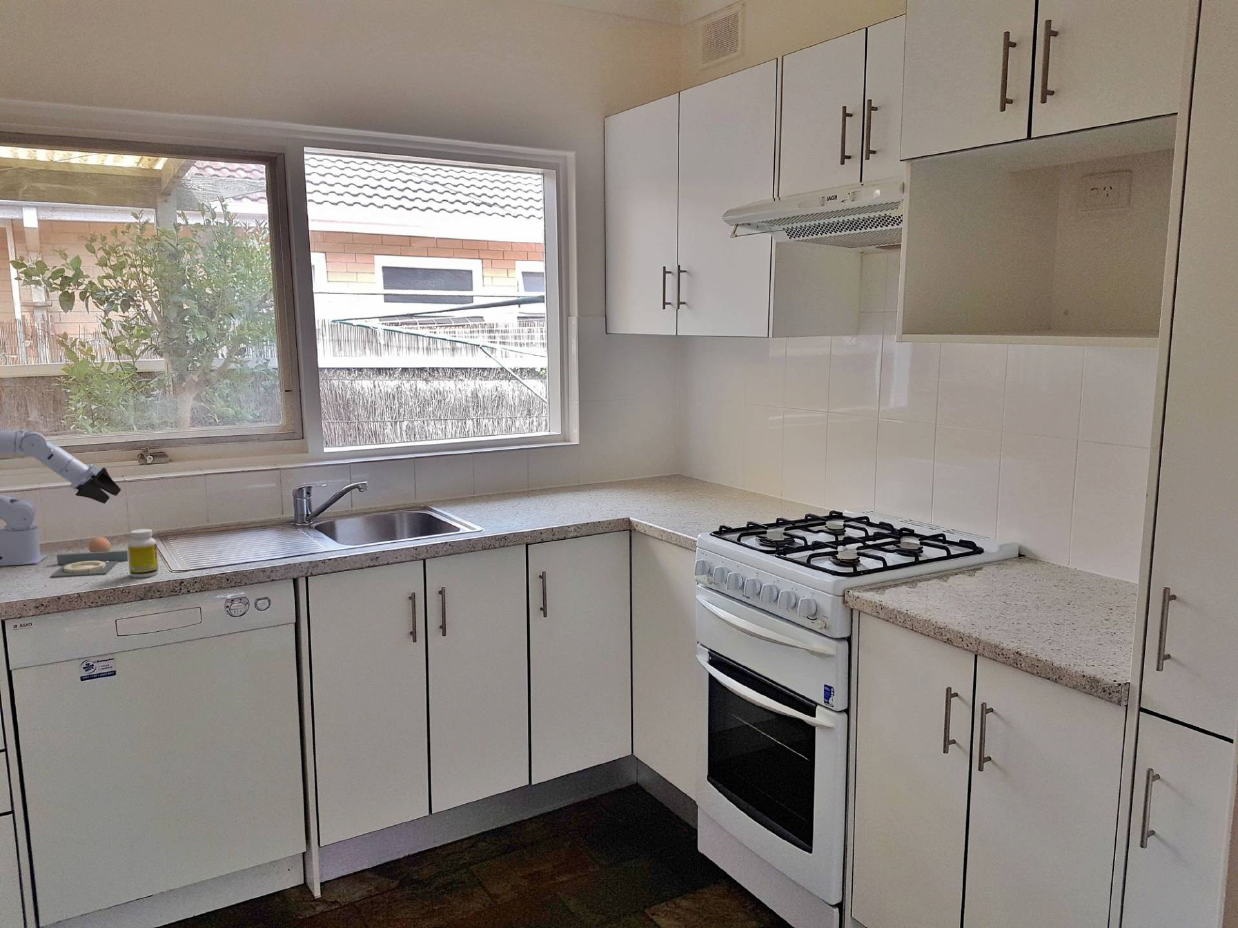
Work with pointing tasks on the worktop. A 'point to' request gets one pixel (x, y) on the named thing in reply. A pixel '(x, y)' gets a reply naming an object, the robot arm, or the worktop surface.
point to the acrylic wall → (92, 557)
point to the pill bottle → (142, 554)
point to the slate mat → (84, 568)
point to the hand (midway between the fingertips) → (112, 496)
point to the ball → (99, 545)
